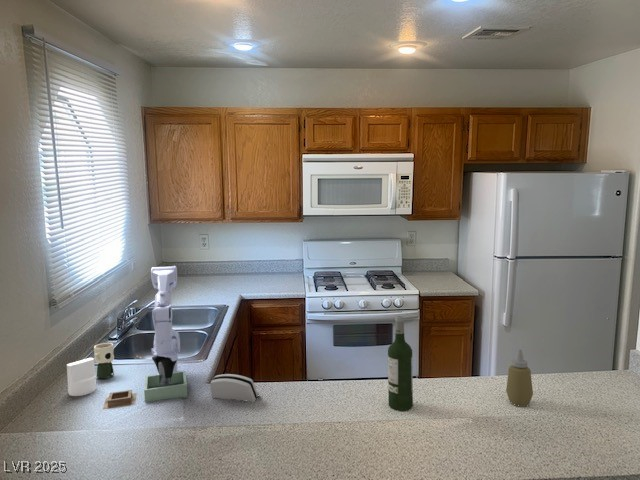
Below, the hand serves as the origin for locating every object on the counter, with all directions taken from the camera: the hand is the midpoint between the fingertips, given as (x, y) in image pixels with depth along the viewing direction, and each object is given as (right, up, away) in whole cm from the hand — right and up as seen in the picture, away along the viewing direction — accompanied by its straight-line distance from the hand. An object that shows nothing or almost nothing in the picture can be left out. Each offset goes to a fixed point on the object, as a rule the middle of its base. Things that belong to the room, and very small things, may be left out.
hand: (165, 376), depth 162 cm
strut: (0, -2, 0) cm, 2 cm away
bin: (0, -6, 0) cm, 6 cm away
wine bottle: (+83, -6, -14) cm, 84 cm away
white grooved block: (-31, -7, +2) cm, 32 cm away
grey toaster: (+26, -7, -5) cm, 27 cm away
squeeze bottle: (+122, -5, -14) cm, 123 cm away
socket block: (-13, -7, -7) cm, 17 cm away
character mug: (-31, -6, +18) cm, 36 cm away
